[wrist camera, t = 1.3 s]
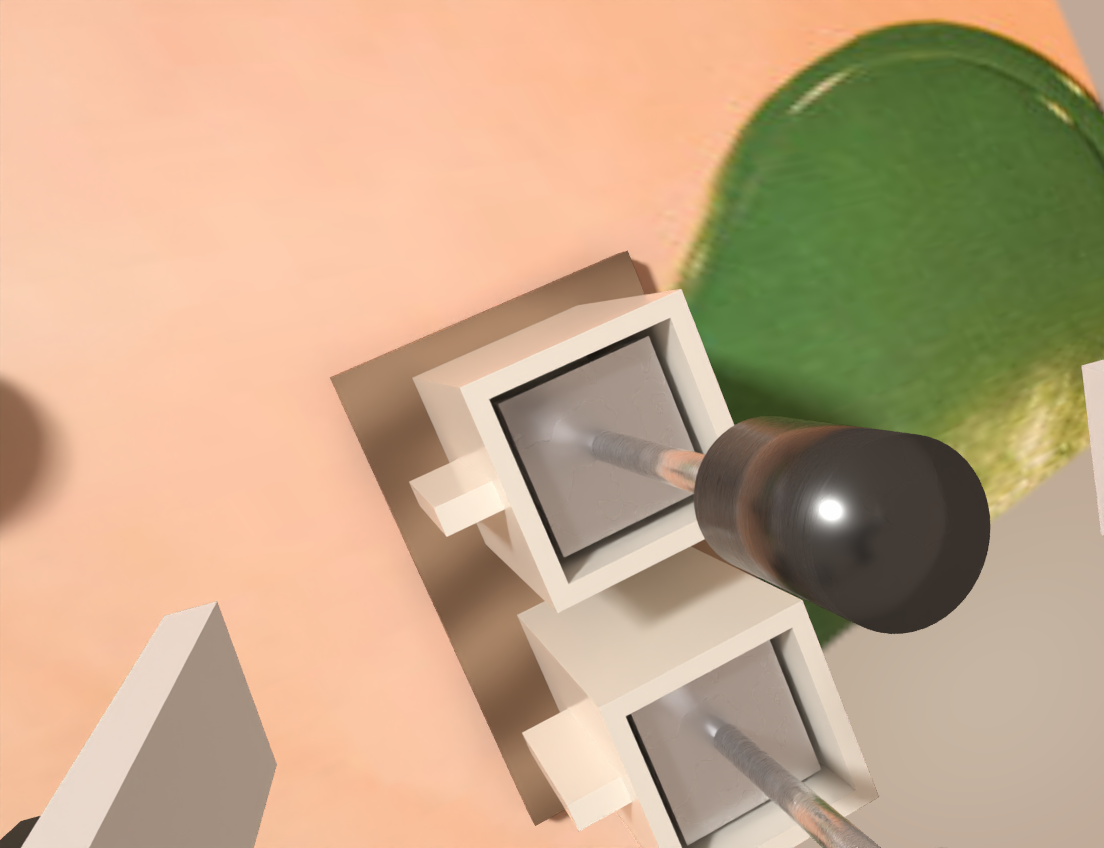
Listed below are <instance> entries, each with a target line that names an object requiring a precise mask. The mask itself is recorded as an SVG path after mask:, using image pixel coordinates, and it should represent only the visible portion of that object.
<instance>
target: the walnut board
mask: <svg viewBox="0 0 1104 848" xmlns="http://www.w3.org/2000/svg"><path fill="white" fill-rule="evenodd" d="M640 295H645V294H644V291H643V288H642V286H641V283H640V281H639V278H638V276H637V273H636V271H635V268H634V266H633V263H632V261H631V258H630V256H629V253H628V251H625V252H622V253H618V254H616V255H614V256H611V257H609V258H607V259H604V260H602V261H600V262H597V263H595V264H593V265H590V266H588V267H586V268H584V269H581V270H579V271H577V272H574V273H572V274H570V275H567V276H565V277H563V278H560V279H558V280H556V281H553V282H551V283H549V284H546V285H544V286H542V287H539V288H537V289H535V290H532V291H530V292H528V293H525V294H523V295H521V296H518V297H516V298H514V299H511V300H509V301H507V302H505V303H502V304H500V305H498V306H495V307H493V308H491V309H488V310H486V311H484V312H481V313H479V314H477V315H474V316H472V317H470V318H467V319H465V320H463V321H460V322H458V323H456V324H453V325H451V326H449V327H446V328H444V329H442V330H439V331H437V332H435V333H433V334H430V335H428V336H426V337H423V338H421V339H419V340H416V341H414V342H412V343H409V344H407V345H405V346H402V347H400V348H398V349H395V350H393V351H391V352H388V353H386V354H384V355H381V356H379V357H377V358H374V359H372V360H370V361H367V362H365V363H363V364H360V365H358V366H356V367H354V368H351V369H349V370H347V371H344V372H342V373H340V374H337V375H335V376H333V377H330V379H331V381H332V383H333V385H334V387H335V390H336V392H337V394H338V396H339V398H340V401H341V403H342V405H343V407H344V409H345V412H346V414H347V416H348V418H349V420H350V422H351V425H352V427H353V429H354V431H355V433H356V436H357V438H358V440H359V442H360V444H361V447H362V449H363V451H364V453H365V455H366V458H367V460H368V462H369V464H370V466H371V469H372V471H373V473H374V475H375V477H376V480H377V482H378V484H379V486H380V488H381V490H382V493H383V495H384V497H385V499H386V501H387V504H388V506H389V508H390V510H391V512H392V515H393V517H394V519H395V521H396V523H397V526H398V528H399V530H400V532H401V534H402V537H403V539H404V541H405V543H406V545H407V548H408V550H409V552H410V554H411V556H412V559H413V561H414V563H415V565H416V567H417V569H418V572H419V574H420V576H421V578H422V580H423V583H424V585H425V587H426V589H427V591H428V594H429V596H430V598H431V600H432V602H433V605H434V607H435V609H436V611H437V613H438V616H439V618H440V620H441V622H442V624H443V627H444V629H445V631H446V633H447V635H448V637H449V640H450V642H451V644H452V646H453V648H454V651H455V653H456V655H457V657H458V659H459V662H460V664H461V666H462V668H463V670H464V673H465V675H466V677H467V679H468V681H469V684H470V686H471V688H472V690H473V692H474V695H475V697H476V699H477V701H478V703H479V705H480V708H481V710H482V712H483V714H484V716H485V719H486V721H487V723H488V725H489V727H490V730H491V732H492V734H493V736H494V738H495V741H496V743H497V745H498V747H499V749H500V752H501V754H502V756H503V758H504V760H505V763H506V765H507V767H508V769H509V771H510V773H511V776H512V778H513V780H514V782H515V784H516V787H517V789H518V791H519V793H520V795H521V798H522V800H523V802H524V804H525V806H526V809H527V811H528V813H529V815H530V817H531V819H532V821H533V823H534V824H535V826H536V825H538V824H540V823H542V822H543V821H545V820H547V819H549V818H551V817H553V816H554V815H556V814H558V813H560V812H562V811H564V810H565V808H564V807H563V805H562V803H561V802H560V800H559V798H558V797H557V795H556V794H555V792H554V790H553V789H552V787H551V785H550V784H549V782H548V780H547V779H546V777H545V776H544V774H543V772H542V771H541V769H540V767H539V766H538V764H537V762H536V761H535V759H534V758H533V756H532V754H531V752H530V750H529V747H528V745H527V743H526V741H525V739H524V736H523V734H522V732H524V731H526V730H528V729H530V728H532V727H534V726H536V725H538V724H539V723H541V722H543V721H545V720H547V719H549V718H551V717H553V716H555V715H557V714H559V713H560V711H559V709H558V707H557V705H556V702H555V700H554V698H553V696H552V693H551V691H550V689H549V686H548V684H547V682H546V680H545V677H544V675H543V673H542V671H541V668H540V666H539V664H538V662H537V659H536V657H535V655H534V653H533V650H532V648H531V646H530V643H529V641H528V639H527V637H526V634H525V632H524V630H523V628H522V625H521V623H520V621H519V619H518V616H517V615H518V614H520V613H522V612H524V611H526V610H528V609H530V608H532V607H534V606H536V605H538V604H540V603H542V602H544V600H543V599H542V598H541V597H540V596H539V595H538V594H537V593H536V592H535V591H534V590H533V589H532V588H531V587H530V586H529V585H528V584H527V583H526V582H524V581H523V580H522V579H521V578H520V577H519V576H518V575H517V574H516V573H515V572H514V571H513V570H512V569H511V568H510V567H509V566H508V565H507V564H506V563H505V562H504V561H503V560H502V559H501V558H500V557H498V556H497V555H496V554H495V553H494V552H493V551H492V550H491V549H490V548H489V547H488V546H487V545H486V544H485V542H484V539H483V537H482V535H481V533H480V530H479V528H478V526H477V523H475V524H473V525H471V526H469V527H466V528H464V529H462V530H460V531H458V532H456V533H454V534H452V535H450V536H448V537H446V536H445V534H444V533H443V532H442V531H441V530H440V529H439V527H438V526H437V525H436V524H435V523H434V522H433V521H432V519H431V518H430V517H429V516H428V515H427V514H426V513H425V511H424V510H423V509H422V508H421V507H420V505H419V503H418V501H417V499H416V497H415V494H414V492H413V490H412V488H411V485H410V483H409V481H412V480H414V479H416V478H418V477H420V476H422V475H425V474H427V473H429V472H431V471H433V470H436V469H438V468H440V467H442V466H444V465H446V464H449V463H450V462H449V460H448V458H447V456H446V453H445V451H444V449H443V447H442V444H441V442H440V440H439V437H438V435H437V433H436V431H435V428H434V426H433V424H432V422H431V419H430V417H429V415H428V413H427V410H426V408H425V406H424V404H423V401H422V399H421V397H420V394H419V392H418V390H417V388H416V385H415V383H414V381H413V379H412V378H413V377H415V376H417V375H420V374H422V373H424V372H426V371H429V370H431V369H433V368H436V367H438V366H440V365H442V364H445V363H447V362H449V361H451V360H454V359H456V358H458V357H461V356H463V355H465V354H467V353H470V352H472V351H474V350H477V349H479V348H481V347H483V346H486V345H488V344H490V343H493V342H495V341H497V340H499V339H502V338H504V337H506V336H509V335H511V334H513V333H515V332H518V331H520V330H522V329H525V328H527V327H529V326H531V325H534V324H536V323H538V322H541V321H543V320H545V319H547V318H550V317H552V316H554V315H557V314H559V313H561V312H563V311H566V310H568V309H570V308H573V307H575V306H577V305H583V304H589V303H596V302H602V301H608V300H615V299H621V298H627V297H634V296H640ZM691 547H693V548H695V549H697V550H699V551H701V552H703V553H705V554H707V555H710V556H712V557H714V558H716V559H718V560H720V561H722V562H724V563H726V564H728V565H730V566H732V567H734V568H737V569H739V570H741V571H743V572H745V573H747V574H749V575H751V576H753V577H755V578H757V576H755V575H753V574H751V573H749V572H747V571H745V570H743V569H740V568H738V567H736V566H734V565H732V564H730V563H729V562H727V561H726V560H724V559H722V558H721V557H720V556H719V555H718V554H717V553H716V552H715V551H714V550H713V549H712V548H711V547H710V546H709V544H708V543H707V541H706V540H705V539H704V540H702V541H700V542H698V543H696V544H694V545H692V546H691Z"/></svg>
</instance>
